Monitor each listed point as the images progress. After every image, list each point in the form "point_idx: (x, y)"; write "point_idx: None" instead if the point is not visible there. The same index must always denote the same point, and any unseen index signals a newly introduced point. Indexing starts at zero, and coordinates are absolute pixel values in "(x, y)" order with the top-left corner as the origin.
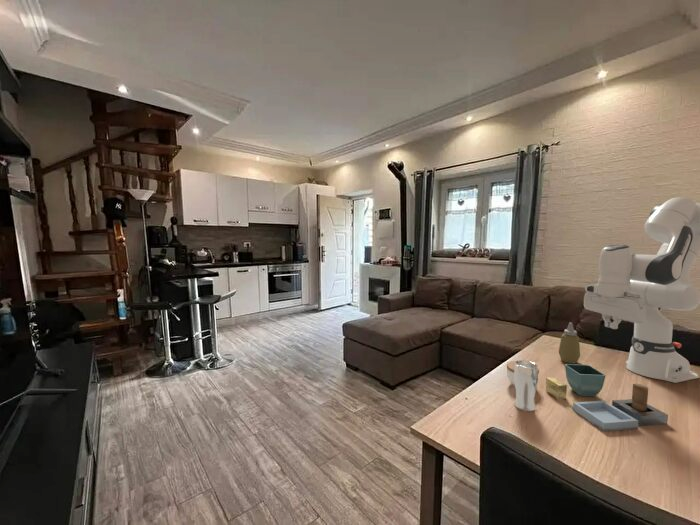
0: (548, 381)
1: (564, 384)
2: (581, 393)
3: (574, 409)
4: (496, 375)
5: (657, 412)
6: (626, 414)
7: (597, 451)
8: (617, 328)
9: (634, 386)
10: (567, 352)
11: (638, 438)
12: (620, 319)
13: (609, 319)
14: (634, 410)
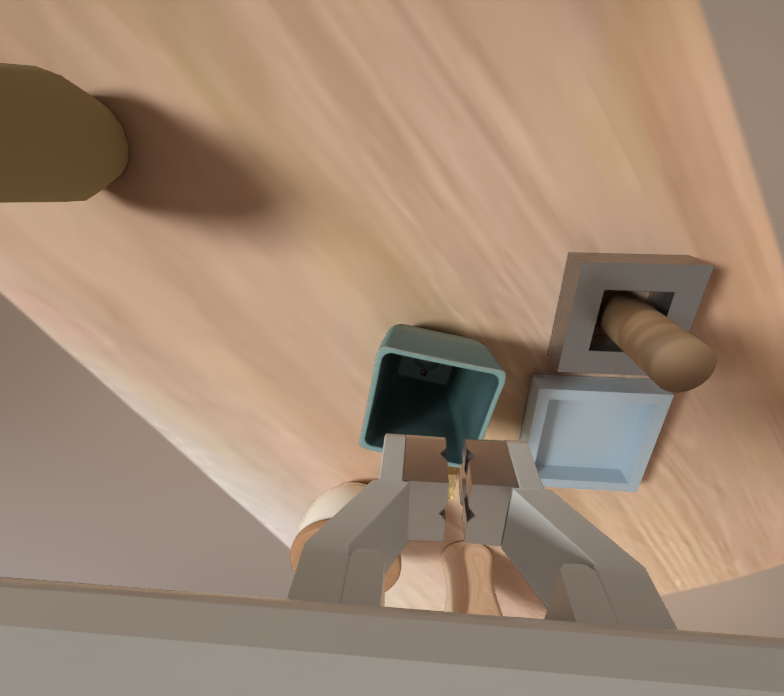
0: None
1: (450, 478)
2: (454, 393)
3: None
4: (279, 524)
5: (684, 290)
6: (633, 396)
7: (671, 540)
8: (527, 444)
9: (667, 389)
10: (83, 190)
11: (687, 419)
12: (647, 611)
13: (382, 516)
14: None
